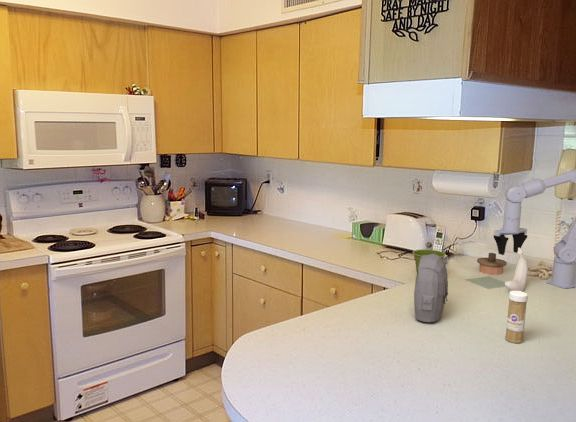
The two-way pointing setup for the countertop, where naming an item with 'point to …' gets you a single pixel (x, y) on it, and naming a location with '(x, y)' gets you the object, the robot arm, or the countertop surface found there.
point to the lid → (492, 261)
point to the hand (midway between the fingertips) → (508, 253)
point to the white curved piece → (518, 274)
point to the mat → (487, 282)
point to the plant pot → (420, 253)
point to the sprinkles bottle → (516, 316)
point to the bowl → (491, 270)
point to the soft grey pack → (430, 288)
